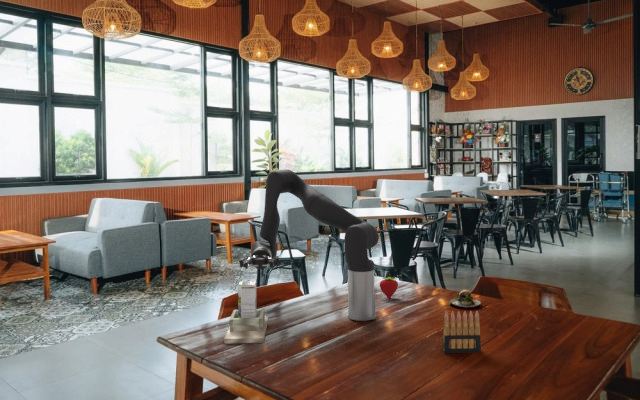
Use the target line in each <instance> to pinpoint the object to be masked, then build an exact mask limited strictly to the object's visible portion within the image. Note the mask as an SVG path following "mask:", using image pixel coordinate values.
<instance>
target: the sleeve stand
mask: <svg viewBox="0 0 640 400" xmlns="http://www.w3.org/2000/svg"><path fill="white" fill-rule="evenodd" d="M265 313H266V311H265V308H261V309H259V308H258V309H257V318H238V309H233V311H232V313H231V315H230V316H229V317H230V318H229V320H228V323H229V327H228V330H227V332H226V334H225V335H224V339H223V341H224V344H257V343H259V344H260V343H261V344H262V343H265V337H266V333H267V327H268V322H269V316H266V315H265Z"/></svg>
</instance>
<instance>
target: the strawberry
mask: <svg viewBox="0 0 640 400" xmlns="http://www.w3.org/2000/svg"><path fill="white" fill-rule="evenodd" d="M388 275H389V276H387V277H382V280H381V281H380V282H379V288H380V290H381V291H382V293H383V294H384V295H385V296H386V298H387V299H391V298H392V296H393V295H394V294H395V293H396V291H397V289H398V288H399V283H398V281H397V280H396V279H397V278H395V277H391V274H390V273H388Z"/></svg>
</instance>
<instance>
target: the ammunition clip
mask: <svg viewBox="0 0 640 400" xmlns="http://www.w3.org/2000/svg"><path fill="white" fill-rule="evenodd" d="M461 315H462V316H461ZM455 318H456V319H455ZM449 319H450V321H449ZM480 328H481V324H480V314H479V311H478V310H476V311H475V314H474V315H473V312H472V310H470V311H469V314H467V311H466V310H464V311H463V314H461V312H460V310H458V311H457V315H456V317H455V312H454V311H453V310H452V311H451V314H450V318H449V313H448V311H447V310H446V311H445V312H444V319H443V334H442V352H443V353H444V354H453V353H454V354H458V353H462V354H463V353H466V354H468V353H481V352H482V346H481V344H482V342H481V329H480Z"/></svg>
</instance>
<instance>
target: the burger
mask: <svg viewBox="0 0 640 400" xmlns="http://www.w3.org/2000/svg"><path fill="white" fill-rule="evenodd" d="M451 305H453V306H455V307H460V308H475V307H477V306H479V307H480V308H482V301H480V300H479V299H475V298H474V297H473V296H472V292H471V291H470V290H469V289H462V290H461V291H460V292H459V295H455V296H453V298H450V299H449V304H448V306H449V307H451Z"/></svg>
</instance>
